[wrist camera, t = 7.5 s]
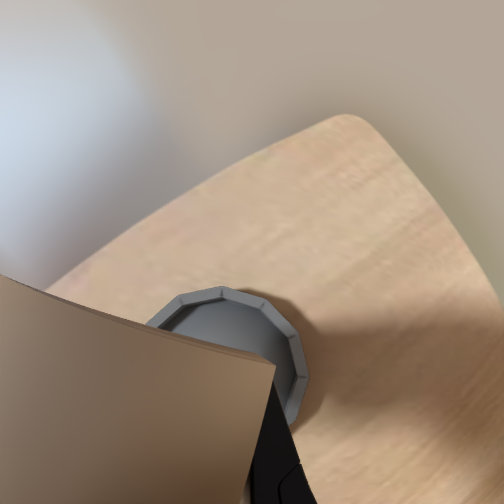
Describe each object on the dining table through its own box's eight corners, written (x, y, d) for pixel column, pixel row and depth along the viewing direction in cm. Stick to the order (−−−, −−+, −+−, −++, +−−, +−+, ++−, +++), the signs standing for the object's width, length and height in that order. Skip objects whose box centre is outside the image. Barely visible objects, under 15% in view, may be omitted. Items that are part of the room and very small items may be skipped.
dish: (322, 318, 21) (327, 316, 20) (274, 466, 18) (276, 474, 17) (170, 272, 22) (164, 266, 21) (124, 415, 19) (115, 418, 18)
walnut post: (256, 353, 15) (275, 365, 3) (238, 426, 14) (203, 610, 2) (181, 334, 16) (-5, 272, 3) (163, 405, 15) (-26, 495, 2)
